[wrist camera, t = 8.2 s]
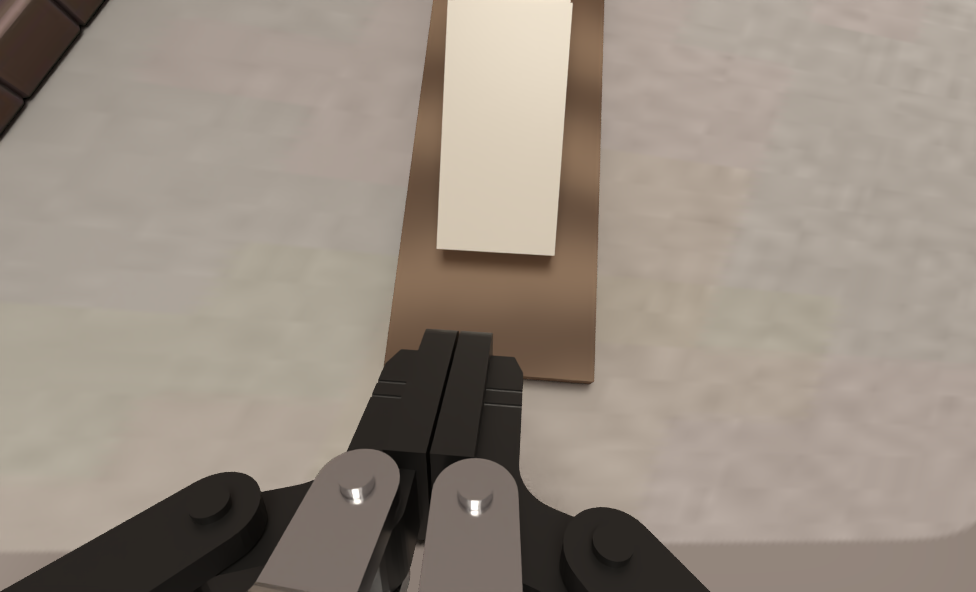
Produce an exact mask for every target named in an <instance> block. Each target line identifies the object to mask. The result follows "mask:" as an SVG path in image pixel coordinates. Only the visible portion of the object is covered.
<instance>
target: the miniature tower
mask: <svg viewBox="0 0 976 592" xmlns="http://www.w3.org/2000/svg"><path fill="white" fill-rule="evenodd" d="M103 2H104V0H0V135H1V133H2V132H3V131H4V130H5V128H6V127H7V126H8V124H9V123H10V122H11V121H12V119H13V118H14V117H15V115H16V114H17V113H18V111H19V110H20V109H21V108H22V106H23V105H24V101H23V98H27V97H30V96H31V95H32V94H33V92H34V91H35V90H36V88H37V87H38V86H39V85H40V83H41V82H42V81H43V79H44V78H45V77H46V75H47V74H48V73H49V72H50V70H51V69H52V68H53V66H54V65H55V64H56V63H57V61H58V60H59V59H60V57H61V56H62V55H63V53H64V52H65V51H66V50H67V48H68V47H69V46H70V44H71V43H72V42H73V41H74V39H75V38H76V37H77V35H78V34H79V33H80V27H79V25H84V26H85V25H86V24H87V22H88V21H89V20H90V19H91V17H92V16H93V15H94V13H95V12H96V11H97V10H98V8H99V7H100V6H101V4H102V3H103Z"/></svg>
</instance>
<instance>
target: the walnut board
mask: <svg viewBox="0 0 976 592" xmlns="http://www.w3.org/2000/svg"><path fill="white" fill-rule="evenodd" d="M570 3H573V6H572V20H571V34H570V48H569V61H568V75H567V89H566V103H565V117H564V131H563V144H562V158H561V172H560V186H559V200H558V213H557V227H556V241H555V255H554V256H550V255H533V254H516V253H499V252H482V251H466V250H449V249H437V227H438V204H439V182H440V160H441V138H442V116H443V94H444V72H445V50H446V28H447V6H448V0H433V5H432V13H431V20H430V28H429V35H428V43H427V50H426V57H425V65H424V72H423V80H422V87H421V94H420V102H419V109H418V117H417V124H416V132H415V139H414V146H413V154H412V161H411V169H410V176H409V183H408V191H407V198H406V206H405V213H404V221H403V228H402V235H401V243H400V250H399V258H398V265H397V272H396V280H395V287H394V295H393V302H392V310H391V317H390V324H389V332H388V339H387V347H386V354H385V361H384V366H385V363H386V362H387V361H388V360H389V359H391V358H392V357H393V356H394V355H395V354H396V353H397V352H398V351H400V350H401V349H408V350H418V349H419V346H420V343H421V341H422V338H423V335H424V332H425V330H426V329H441V330H455V331H459V334H460V331H472V332H487V333H493V355H494V356H508V357H515V359H516V361H517V362H518V364H519V366H520V368H521V370H522V371H523V379H532V380H545V381H558V382H571V383H584V384H591V383H592V382H594V364H595V327H596V289H597V252H598V214H599V177H600V139H601V102H602V64H603V26H604V0H571V2H570Z"/></svg>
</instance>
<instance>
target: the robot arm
mask: <svg viewBox="0 0 976 592" xmlns="http://www.w3.org/2000/svg"><path fill="white" fill-rule="evenodd" d="M522 389H523V371H522V370H521V368H520V366H519V364H518V362H517V361H516V359H515V357H508V356H494V355H493V333H487V332H472V331H460V334H459V331H455V330H441V329H426V330H425V332H424V335H423V338H422V341H421V343H420V346H419V349H418V350H408V349H401V350H400V351H398V352H397V353H396V354H395V355H394V356H393V357H392V358H391V359H389V360H388V361H387V362H386V363H385V366H384V368H383V370H382V372H381V375H380V377H379V379H378V383H377V384H376V386H375V388H374V391H373V393H372V397H371V398H370V400H369V402H368V404H367V407H366V409H365V411H364V414H363V416H362V418H361V420H360V423H359V425H358V427H357V429H356V432H355V434H354V436H353V439H352V441H351V443H350V445H349V448H348V450H347V452H345V453H343V454H341V455H339V456H337V457H335V458H334V459H332V460H331V461H329V462H328V463H327V464H326V465H325V466H324V467H323V468H322V469H321V470H320V472H319V473H318V475H317V476H316V478H315V480H313V481H310V482H307V483H304V484H300V485H296V486H290V487H285V488H280V489H275V490H269V491H264V492H261V491H260V488H259V486H258V484H257V482H256V481H255V480H254V479H253V478H252V477H250V476H248V475H246V474H243V473H238V472H224V473H218V474H214V475H211V476H208V477H205V478H203V479H201V480H199V481H197V482H195V483H193V484H191V485H189V486H188V487H186V488H184V489H182V490H180V491H179V492H177V493H175V494H173V495H172V496H170V497H168V498H166V499H164V500H163V501H161V502H159V503H157V504H155V505H154V506H152V507H150V508H148V509H147V510H145V511H143V512H141V513H139V514H138V515H136V516H134V517H132V518H131V519H129V520H127V521H125V522H123V523H122V524H120V525H118V526H116V527H114V528H113V529H111V530H109V531H107V532H106V533H104V534H102V535H100V536H98V537H97V538H95V539H93V540H91V541H90V542H88V543H86V544H84V545H82V546H81V547H79V548H77V549H75V550H73V551H72V552H70V553H68V554H66V555H65V556H63V557H61V558H59V559H57V560H56V561H54V562H52V563H50V564H49V565H47V566H45V567H43V568H41V569H40V570H38V571H36V572H34V573H32V574H31V575H29V576H27V577H25V578H24V579H22V580H20V581H18V582H17V583H15V584H13V585H11V586H10V587H8V588H6V589H4V590H2V591H0V592H407V588H408V585H409V580H410V566H411V563H412V558H413V554H414V550H415V545H416V541H417V539H418V540H425V547H424V554H423V562H422V570H421V576H420V584H419V591H418V592H710V591H709V590H708V589H707V588H706V587H705V586H704V585H703V584H702V583H701V582H700V581H699V580H698V579H697V578H696V577H695V576H694V575H693V574H692V573H691V572H690V571H689V570H688V569H687V568H686V567H685V566H684V565H683V564H682V563H681V562H680V561H679V560H678V559H677V558H676V557H675V556H674V555H673V554H672V553H671V552H670V551H669V550H668V549H667V548H666V547H665V546H664V545H663V544H662V543H661V542H660V541H659V540H658V539H657V538H656V537H655V536H654V535H653V534H652V533H651V532H650V531H649V530H648V529H647V528H646V527H645V526H644V525H643V524H642V523H640V522H639V521H638V520H637V519H635V518H634V517H632V516H631V515H629V514H627V513H625V512H622V511H619V510H617V509H612V508H607V507H597V508H591V509H587V510H584V511H582V512H580V513H579V514H577V515H576V516H575V517H573V516H570V515H568V514H565V513H563V512H560V511H558V510H555V509H553V508H551V507H549V506H547V505H545V504H543V503H542V502H540V501H539V500H538V499H536V498H535V497H534V496H533V495H532V494H531V493H530V492H529V491H528V489H527V488H526V486H525V485H524V483H523V481H522V479H521V476H520V471H519V455H520V433H521V411H522Z"/></svg>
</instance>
